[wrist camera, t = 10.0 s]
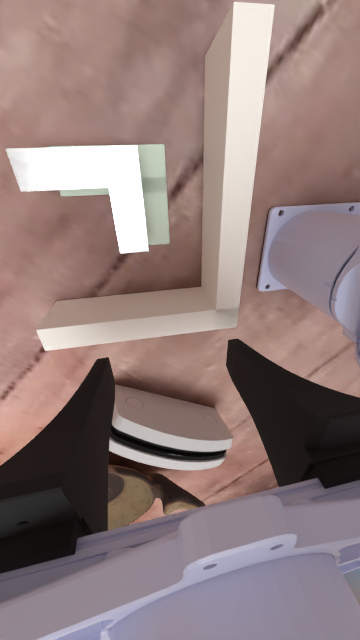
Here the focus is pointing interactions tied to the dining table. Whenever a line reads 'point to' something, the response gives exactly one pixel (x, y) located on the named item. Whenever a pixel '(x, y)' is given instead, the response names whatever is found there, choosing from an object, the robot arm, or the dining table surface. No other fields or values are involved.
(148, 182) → the mat
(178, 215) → the dining table surface
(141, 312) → the corner wall
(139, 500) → the brown frying pan
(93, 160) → the bracket
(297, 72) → the dining table surface
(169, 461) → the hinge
